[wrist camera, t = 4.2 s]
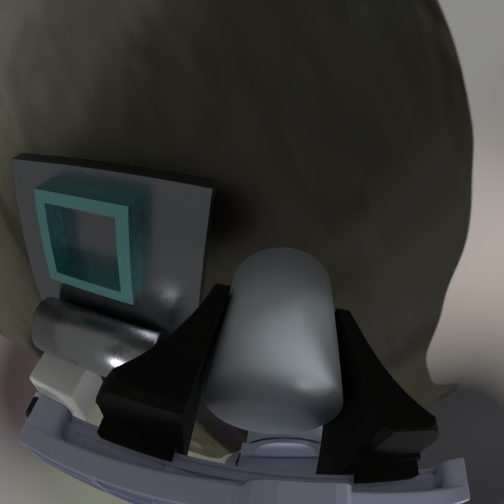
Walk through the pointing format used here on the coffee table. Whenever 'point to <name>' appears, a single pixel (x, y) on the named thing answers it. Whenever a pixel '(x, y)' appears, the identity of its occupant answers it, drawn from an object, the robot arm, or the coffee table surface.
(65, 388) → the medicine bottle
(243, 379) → the white rounded cylinder
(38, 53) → the coffee table surface
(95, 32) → the coffee table surface
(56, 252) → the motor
